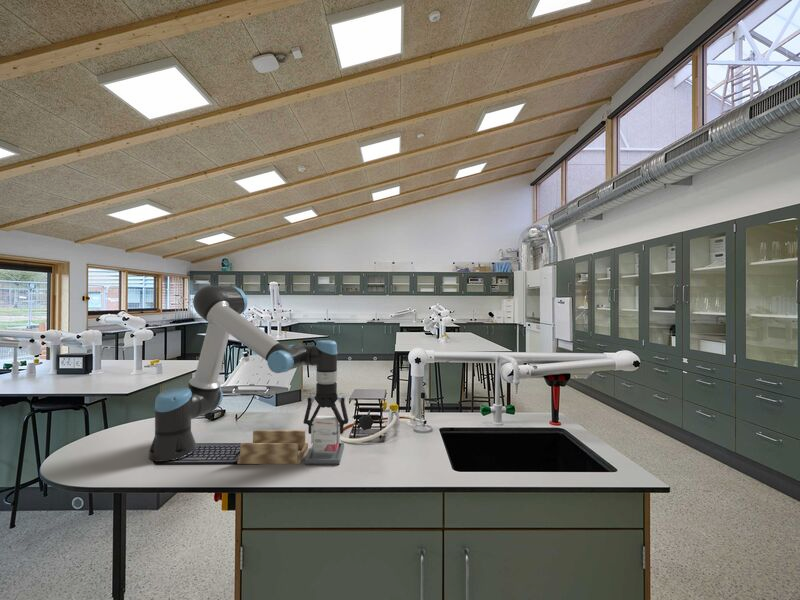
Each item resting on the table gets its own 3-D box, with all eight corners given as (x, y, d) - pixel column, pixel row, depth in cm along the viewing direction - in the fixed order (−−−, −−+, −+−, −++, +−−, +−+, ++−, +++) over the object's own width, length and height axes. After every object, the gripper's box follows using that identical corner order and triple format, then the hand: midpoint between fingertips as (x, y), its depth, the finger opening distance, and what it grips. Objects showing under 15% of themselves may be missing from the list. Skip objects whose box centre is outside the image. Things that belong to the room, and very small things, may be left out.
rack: (237, 463, 136) (237, 444, 136) (251, 448, 150) (251, 430, 150) (300, 463, 137) (300, 444, 137) (307, 448, 151) (308, 430, 151)
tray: (305, 465, 136) (305, 460, 136) (313, 447, 152) (313, 442, 152) (339, 464, 137) (339, 459, 137) (344, 447, 153) (344, 442, 153)
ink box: (339, 446, 146) (339, 415, 146) (335, 452, 141) (335, 419, 141) (317, 445, 147) (317, 414, 147) (312, 450, 142) (312, 418, 142)
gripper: (294, 384, 140) (294, 446, 140) (355, 384, 141) (354, 445, 141) (299, 379, 147) (298, 438, 148) (356, 380, 148) (355, 438, 148)
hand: (325, 442), depth 144 cm, fingers closed on ink box, 9 cm apart
